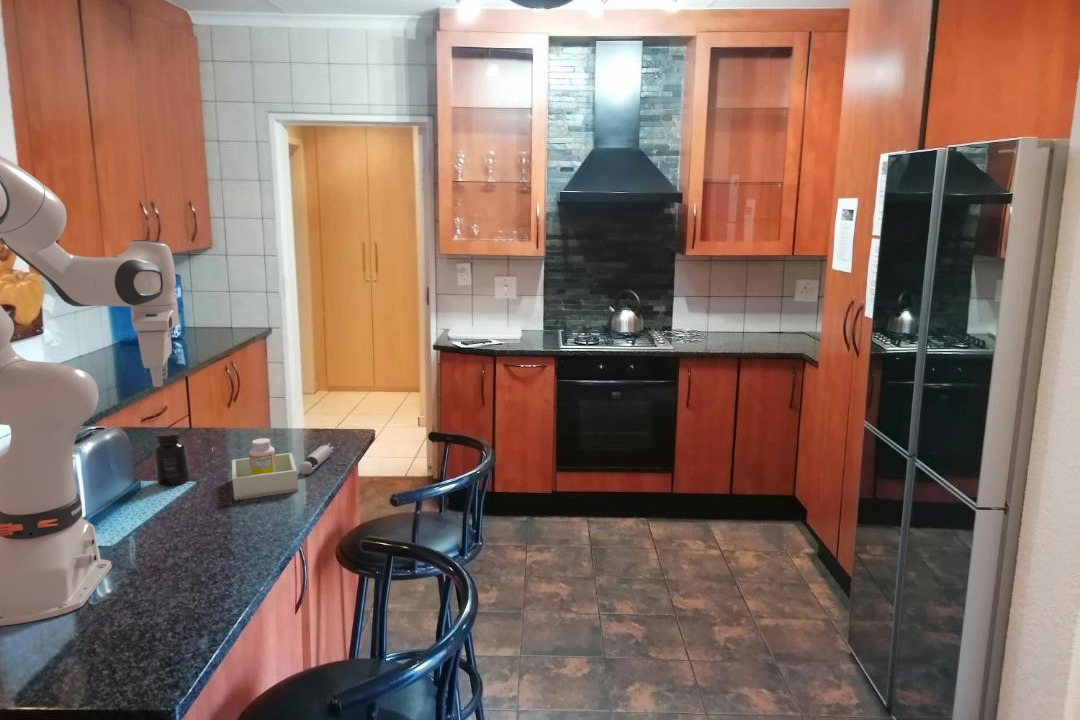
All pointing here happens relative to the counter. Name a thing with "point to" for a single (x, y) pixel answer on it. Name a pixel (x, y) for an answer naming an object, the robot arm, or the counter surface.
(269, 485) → the bin
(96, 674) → the counter surface
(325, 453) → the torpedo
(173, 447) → the supplement bottle
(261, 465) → the supplement bottle
